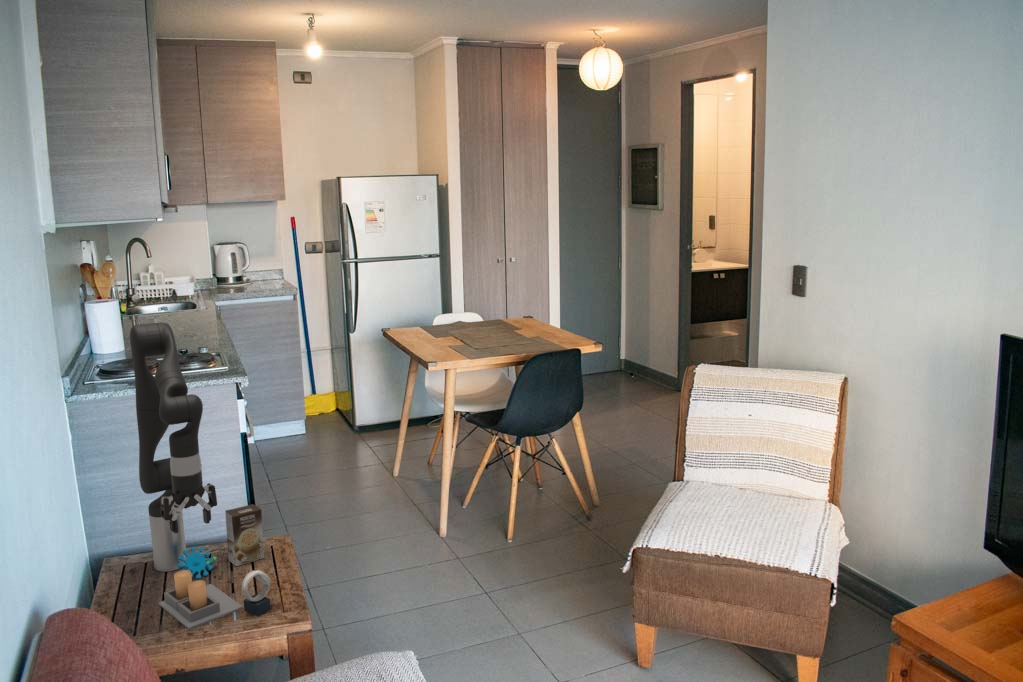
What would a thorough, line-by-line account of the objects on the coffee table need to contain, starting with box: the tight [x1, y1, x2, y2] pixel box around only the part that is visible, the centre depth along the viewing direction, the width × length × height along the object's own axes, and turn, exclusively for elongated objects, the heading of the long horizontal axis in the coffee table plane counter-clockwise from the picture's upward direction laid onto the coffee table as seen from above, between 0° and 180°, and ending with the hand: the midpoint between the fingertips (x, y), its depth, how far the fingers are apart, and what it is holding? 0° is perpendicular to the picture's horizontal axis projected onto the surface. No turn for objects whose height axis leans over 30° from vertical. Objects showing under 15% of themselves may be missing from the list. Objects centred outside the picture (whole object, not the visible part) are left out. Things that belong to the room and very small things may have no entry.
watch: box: [241, 569, 272, 617], centre depth 225 cm, size 6×8×11 cm
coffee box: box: [225, 503, 265, 567], centre depth 255 cm, size 9×6×16 cm
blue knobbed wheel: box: [178, 546, 217, 580], centre depth 248 cm, size 11×6×10 cm
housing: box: [158, 569, 244, 631], centre depth 228 cm, size 19×15×9 cm
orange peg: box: [188, 579, 208, 611], centre depth 224 cm, size 4×4×8 cm
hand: (191, 527), depth 222 cm, fingers open, 8 cm apart
